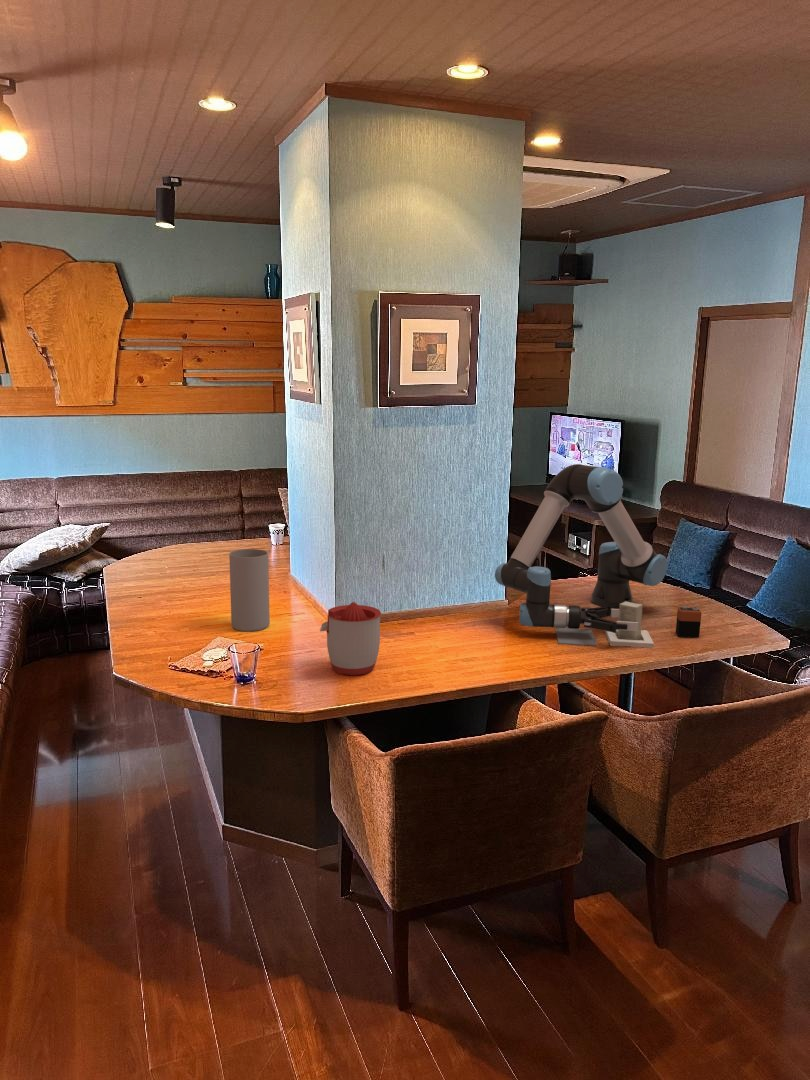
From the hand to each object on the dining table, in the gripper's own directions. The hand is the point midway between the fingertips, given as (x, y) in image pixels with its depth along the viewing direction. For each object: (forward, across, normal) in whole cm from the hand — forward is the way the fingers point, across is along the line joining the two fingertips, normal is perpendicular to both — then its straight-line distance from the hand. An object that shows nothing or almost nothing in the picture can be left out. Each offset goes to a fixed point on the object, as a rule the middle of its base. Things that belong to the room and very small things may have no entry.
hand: (634, 620), depth 261 cm
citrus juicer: (-85, +40, -7) cm, 94 cm away
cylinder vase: (-125, +7, -7) cm, 126 cm away
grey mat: (-18, 0, -7) cm, 20 cm away
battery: (+19, -8, -7) cm, 22 cm away
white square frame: (-1, 0, -7) cm, 7 cm away
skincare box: (-1, 0, -7) cm, 7 cm away
